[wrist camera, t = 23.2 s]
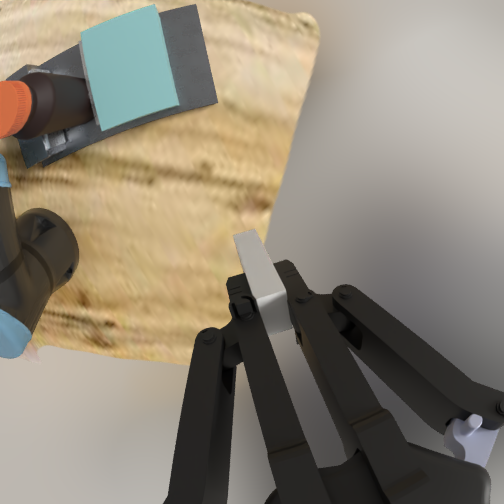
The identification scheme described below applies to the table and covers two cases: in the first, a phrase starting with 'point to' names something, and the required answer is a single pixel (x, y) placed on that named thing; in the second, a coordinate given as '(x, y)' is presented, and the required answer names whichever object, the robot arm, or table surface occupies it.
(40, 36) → the table surface
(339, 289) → the robot arm
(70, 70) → the vise base
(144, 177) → the table surface
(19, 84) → the vinegar
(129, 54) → the block
